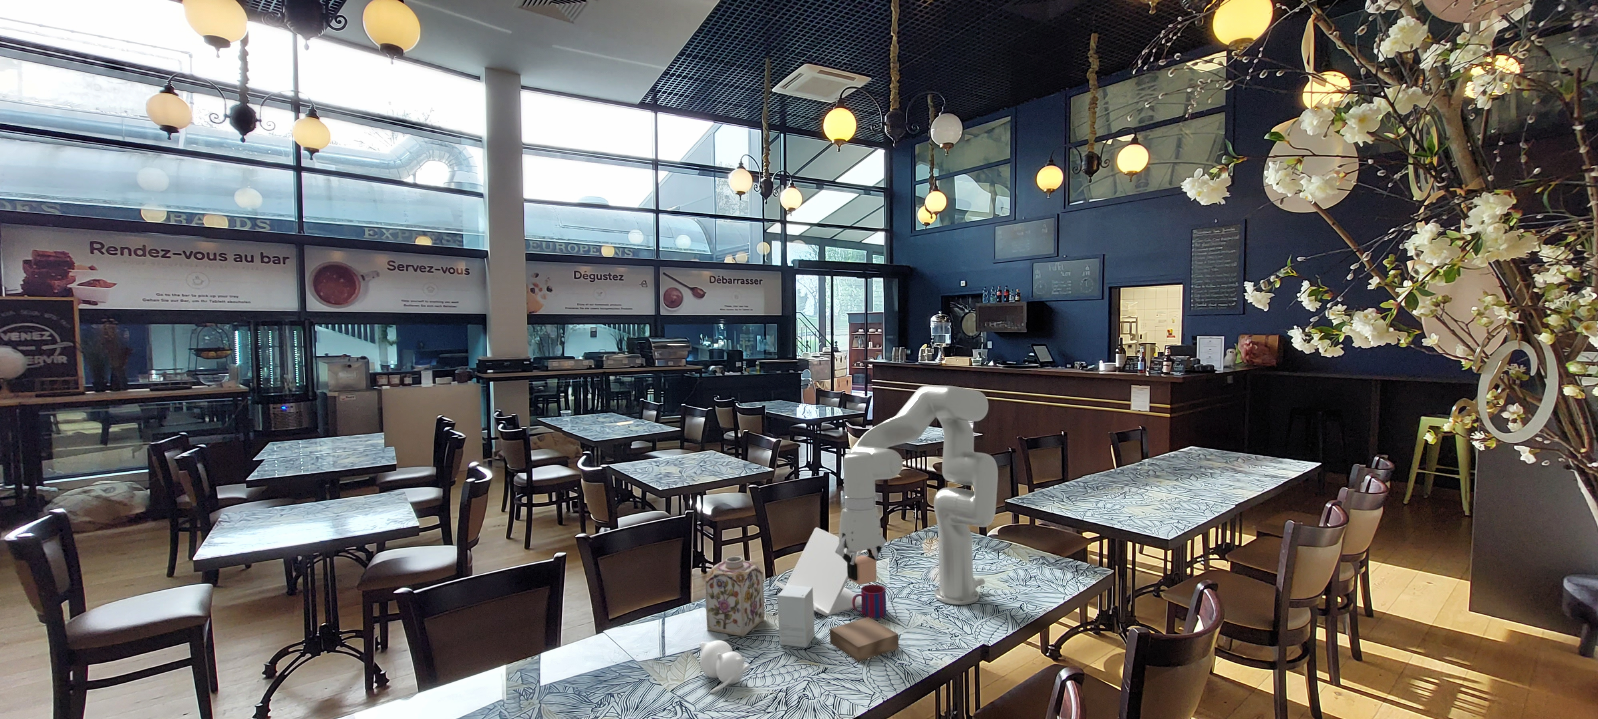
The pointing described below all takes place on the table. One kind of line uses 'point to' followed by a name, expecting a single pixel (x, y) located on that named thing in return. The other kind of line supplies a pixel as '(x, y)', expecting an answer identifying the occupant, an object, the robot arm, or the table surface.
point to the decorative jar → (734, 597)
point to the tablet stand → (824, 574)
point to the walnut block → (864, 639)
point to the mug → (872, 601)
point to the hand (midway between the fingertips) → (862, 575)
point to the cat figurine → (722, 663)
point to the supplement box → (796, 616)
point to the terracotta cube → (865, 570)
